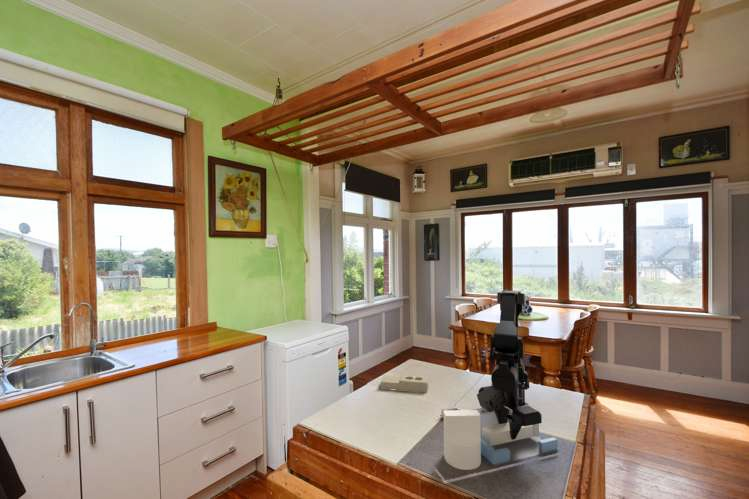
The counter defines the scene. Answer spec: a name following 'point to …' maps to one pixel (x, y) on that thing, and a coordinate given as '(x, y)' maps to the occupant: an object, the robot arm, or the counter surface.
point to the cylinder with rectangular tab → (462, 438)
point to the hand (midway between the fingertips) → (508, 435)
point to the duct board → (509, 449)
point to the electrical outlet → (405, 383)
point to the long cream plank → (507, 433)
